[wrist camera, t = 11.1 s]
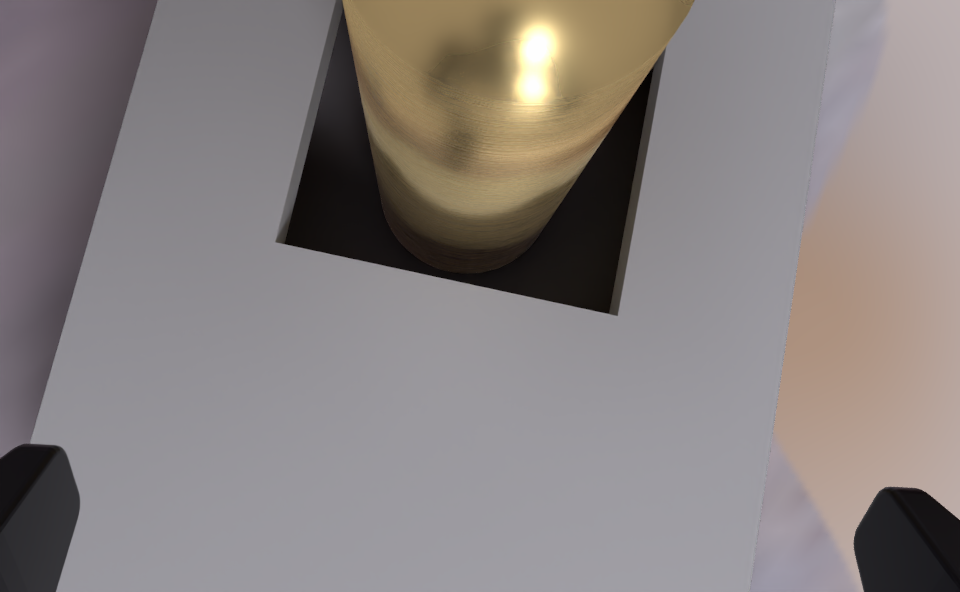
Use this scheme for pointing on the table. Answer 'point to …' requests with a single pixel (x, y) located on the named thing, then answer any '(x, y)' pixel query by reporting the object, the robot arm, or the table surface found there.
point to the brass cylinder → (493, 110)
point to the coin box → (427, 341)
